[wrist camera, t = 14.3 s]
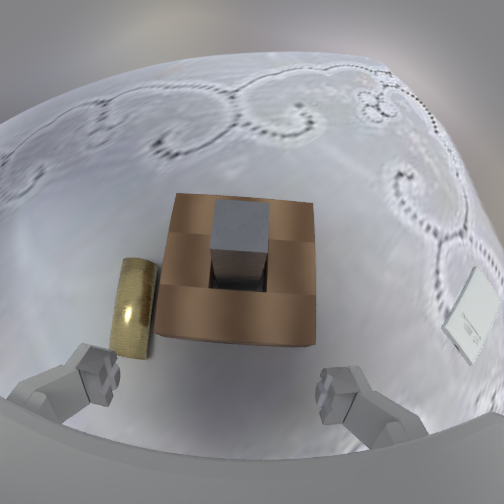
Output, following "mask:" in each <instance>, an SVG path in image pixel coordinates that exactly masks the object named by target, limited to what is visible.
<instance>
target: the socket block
mask: <svg viewBox="0 0 504 504" xmlns="http://www.w3.org/2000/svg"><path fill="white" fill-rule="evenodd" d="M216 199H222V200H237V201H251V202H264V203H269V236H268V254H267V258H266V261H265V265H264V287H263V292H251V291H237V290H223V289H212V287H213V277H214V268H213V263H212V258H211V254H210V240H211V232H212V224H213V216H214V209H215V201H216ZM153 333H156V334H158V335H160V336H163V337H170V338H178V339H186V340H196V341H206V342H217V343H229V344H243V345H260V346H284V347H307V346H311V345H315V339H316V268H315V234H314V212H313V203H306V202H296V201H285V200H274V199H263V198H250V197H236V196H221V195H204V194H183V193H176V198H175V202H174V207H173V212H172V217H171V222H170V227H169V232H168V237H167V243H166V248H165V254H164V260H163V266H162V272H161V279H160V285H159V292H158V299H157V307H156V315H155V323H154V332H153Z"/></svg>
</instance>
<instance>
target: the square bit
mask: <svg viewBox="0 0 504 504" xmlns="http://www.w3.org/2000/svg"><path fill="white" fill-rule="evenodd" d="M268 236H269V203H264V202H251V201H237V200H222V199H216V201H215V209H214V216H213V224H212V232H211V240H210V254H211V258H212V263H213V268H214V273H215V277H216V282H217V286H218V289H223V290H237V291H251V292H257V288H258V285H259V282H260V278H261V275H262V271H263V268H264V265H265V261H266V258H267V254H268Z"/></svg>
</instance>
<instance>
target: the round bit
mask: <svg viewBox="0 0 504 504" xmlns="http://www.w3.org/2000/svg"><path fill="white" fill-rule="evenodd" d="M157 271H158V266H157V265H156V264H155V263H153V262H150V261H148V260H144V259H140V258H125V259H123V262H122V267H121V272H120V278H119V283H118V289H117V294H116V301H115V307H114V314H113V321H112V328H111V336H110V345H109V349H110V350H114V351H115V352H116V355H118V356H123V357H128V358H134V359H141V360H146V358H147V347H148V337H149V328H150V320H151V312H152V304H153V297H154V290H155V283H156V277H157Z"/></svg>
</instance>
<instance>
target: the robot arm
mask: <svg viewBox="0 0 504 504" xmlns="http://www.w3.org/2000/svg"><path fill="white" fill-rule="evenodd" d="M116 360H117V355H116V352H115V351H114V350H110V349H106V348H101V347H97V346H92V345H88V344H84V343H82V344H80V345H79V346H78V348H77V349H76V350H75V352H74V353H73V354H72V356H71V357H70V358H69V360H68V361H67V362H66V364H65V365H59V366H57V367H55V368H52V369H50V370H48V371H45V372H43V373H40V374H38V375H36V376H33V377H31V378H28V379H26V380H24V381H21V382H19V383H18V384H17V386H16V387H15V388H14V390H13V391H12V392H11V393H10V395H9V396H8V397H7V399H5V398H3V397H1V396H0V504H504V416H503V415H501V414H498V413H495V412H488V413H486V414H483V415H481V416H479V417H476V418H474V419H472V420H469V421H467V422H464V423H462V424H459V425H457V426H454V427H451V428H449V429H446V430H443V431H440V432H437V433H434V434H431V435H429V434H428V432H427V430H426V429H425V427H424V425H423V423H422V422H421V420H420V418H419V417H418V416H417V415H416V414H414V413H412V412H410V411H409V410H407V409H405V408H404V407H402V406H400V405H399V404H397V403H395V402H394V401H392V400H390V399H389V398H387V397H385V396H384V395H382V394H380V393H379V392H377V391H373V390H372V389H371V387H370V385H369V383H368V381H367V379H366V377H365V375H364V373H363V372H362V370H361V368H360V367H359V366H348V367H332V368H323V369H322V371H321V374H320V377H321V381H320V382H319V383H317V387H316V393H315V397H316V403H317V405H318V406H319V407H320V408H321V410H320V417H321V420H322V424H323V425H330V424H343V425H344V426H345V427H346V428H347V429H348V430H349V431H350V432H351V433H352V434H354V435H355V436H356V437H357V438H358V439H359V440H360V441H361V442H362V443H364V444H365V445H366V446H367V447H368V448H369V449H370V450H366V451H360V452H355V453H348V454H341V455H334V456H325V457H315V458H303V459H285V460H238V459H220V458H208V457H198V456H189V455H182V454H175V453H168V452H162V451H157V450H151V449H146V448H141V447H137V446H132V445H128V444H124V443H120V442H116V441H112V440H109V439H105V438H101V437H98V436H95V435H91V434H88V433H85V432H82V431H79V430H76V429H73V428H71V427H68V426H65V425H62V424H61V423H63V422H64V421H66V420H67V419H69V418H70V417H72V416H73V415H74V414H76V413H77V412H79V411H80V410H82V409H83V408H84V407H86V406H87V405H89V404H90V403H93V404H98V405H102V406H106V407H109V405H110V403H111V400H112V398H113V392H112V391H113V390H115V389H117V387H118V385H119V382H120V368H119V366H118V365H117V364H116V363H115V362H116Z"/></svg>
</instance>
